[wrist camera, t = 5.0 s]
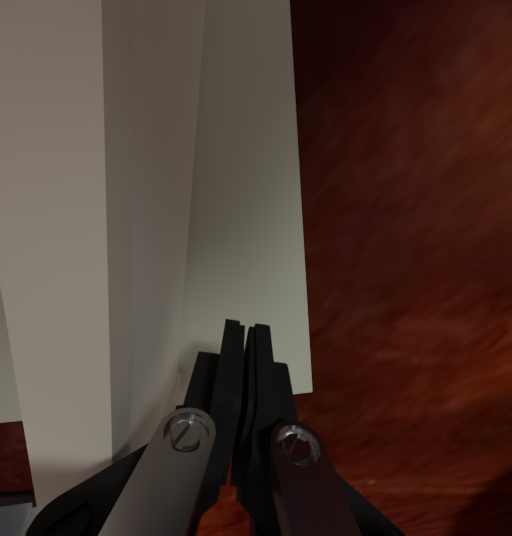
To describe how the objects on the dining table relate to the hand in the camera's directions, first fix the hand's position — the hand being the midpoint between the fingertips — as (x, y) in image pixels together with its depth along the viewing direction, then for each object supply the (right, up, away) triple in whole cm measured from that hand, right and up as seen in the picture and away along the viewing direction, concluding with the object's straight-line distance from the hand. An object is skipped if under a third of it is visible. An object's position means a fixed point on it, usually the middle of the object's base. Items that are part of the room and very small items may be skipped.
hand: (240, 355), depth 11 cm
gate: (-3, +5, +2) cm, 6 cm away
